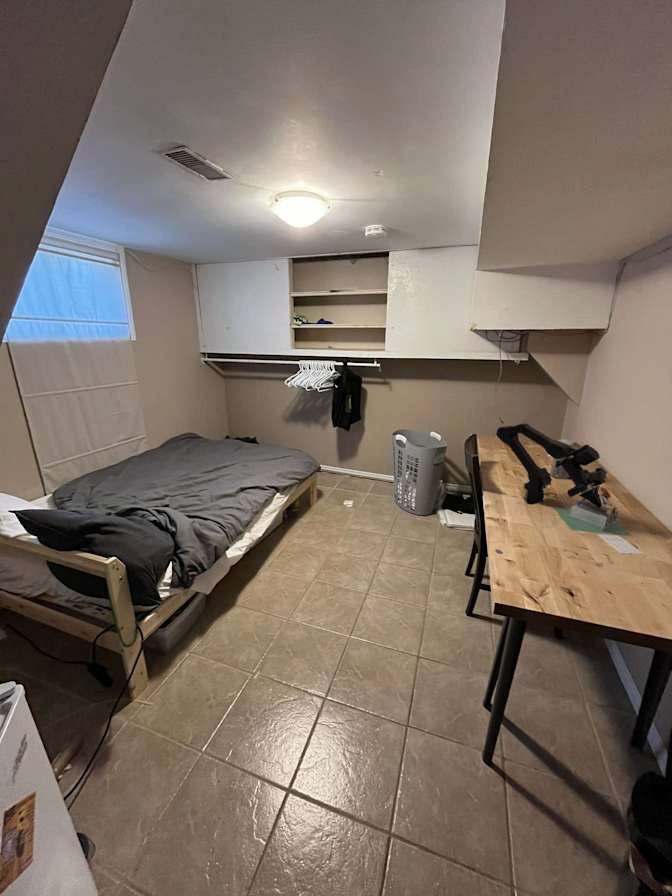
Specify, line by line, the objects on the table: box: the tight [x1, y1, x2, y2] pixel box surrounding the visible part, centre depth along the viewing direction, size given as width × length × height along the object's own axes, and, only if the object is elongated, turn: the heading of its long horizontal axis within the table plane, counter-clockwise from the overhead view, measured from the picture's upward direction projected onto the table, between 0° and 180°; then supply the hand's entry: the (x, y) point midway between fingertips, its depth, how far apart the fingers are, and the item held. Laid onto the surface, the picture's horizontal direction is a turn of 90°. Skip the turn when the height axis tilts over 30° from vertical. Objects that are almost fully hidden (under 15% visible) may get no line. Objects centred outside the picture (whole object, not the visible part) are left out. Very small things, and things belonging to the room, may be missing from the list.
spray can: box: [549, 438, 575, 480], centre depth 193 cm, size 8×8×20 cm
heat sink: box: [569, 497, 620, 531], centre depth 143 cm, size 12×12×8 cm
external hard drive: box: [597, 534, 646, 558], centre depth 127 cm, size 2×8×12 cm
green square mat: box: [552, 507, 633, 537], centre depth 144 cm, size 20×20×1 cm
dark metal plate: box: [579, 499, 614, 513], centre depth 142 cm, size 11×3×1 cm, turn 32°
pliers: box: [599, 486, 612, 506], centre depth 169 cm, size 12×20×3 cm, turn 164°
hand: (600, 506), depth 140 cm, fingers closed, pressing on dark metal plate
